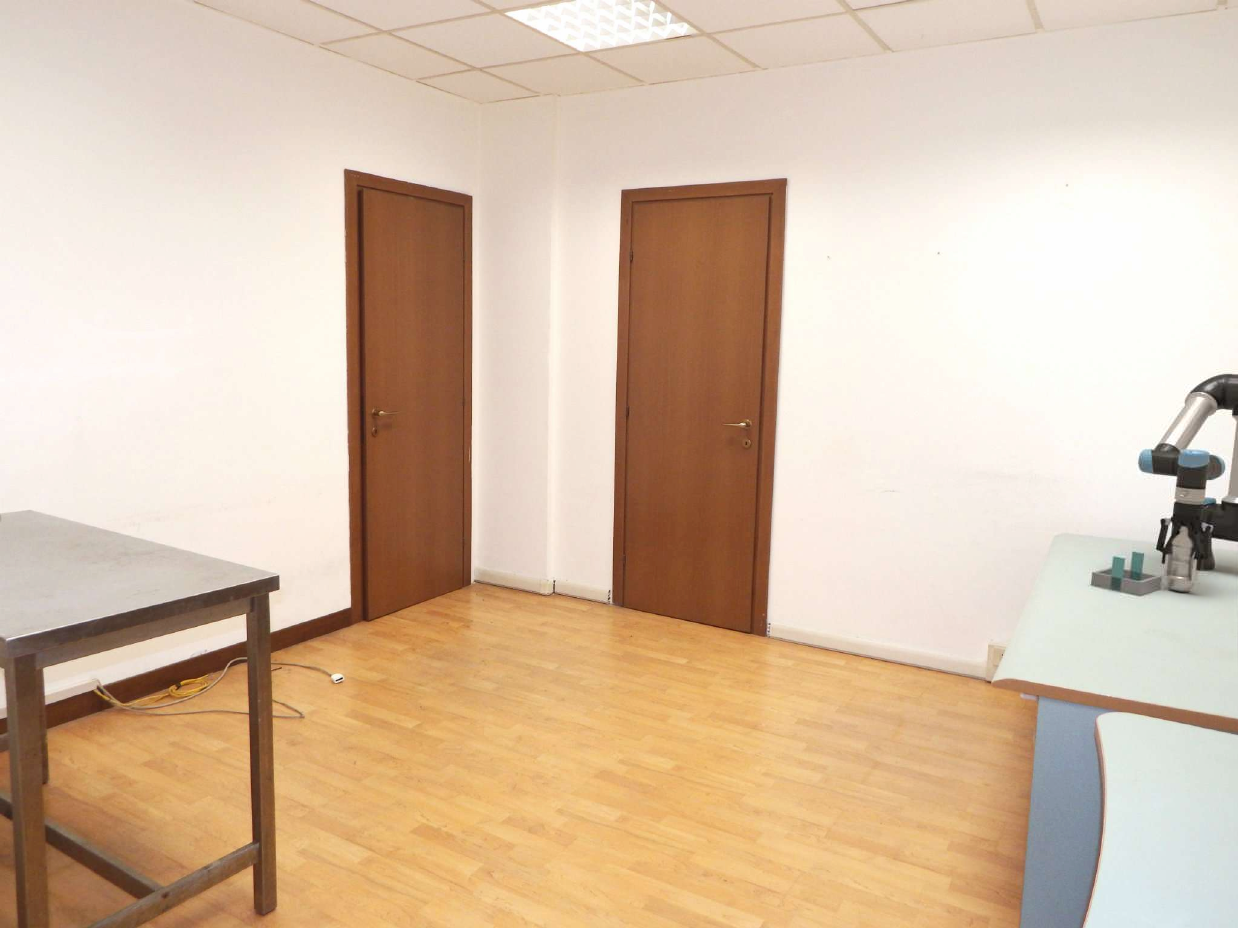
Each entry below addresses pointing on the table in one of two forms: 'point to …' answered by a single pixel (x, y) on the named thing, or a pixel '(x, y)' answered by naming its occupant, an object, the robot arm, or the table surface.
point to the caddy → (1127, 577)
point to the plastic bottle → (1181, 561)
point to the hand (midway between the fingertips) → (1180, 577)
